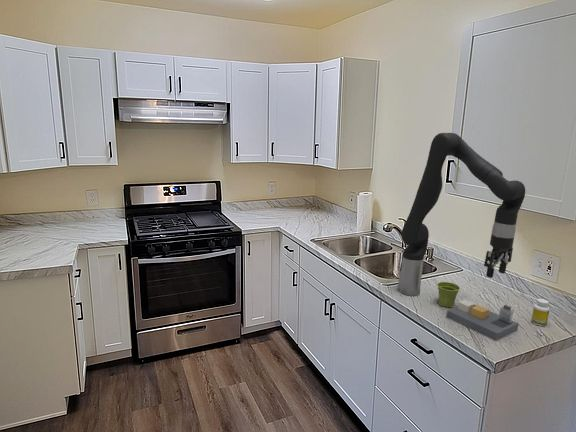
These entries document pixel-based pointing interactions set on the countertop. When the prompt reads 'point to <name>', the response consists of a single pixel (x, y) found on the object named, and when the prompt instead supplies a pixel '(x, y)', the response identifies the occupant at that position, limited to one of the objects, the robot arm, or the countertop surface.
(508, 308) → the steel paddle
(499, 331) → the panel
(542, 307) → the supplement bottle
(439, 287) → the plant pot
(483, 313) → the amber button
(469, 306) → the ivory button
